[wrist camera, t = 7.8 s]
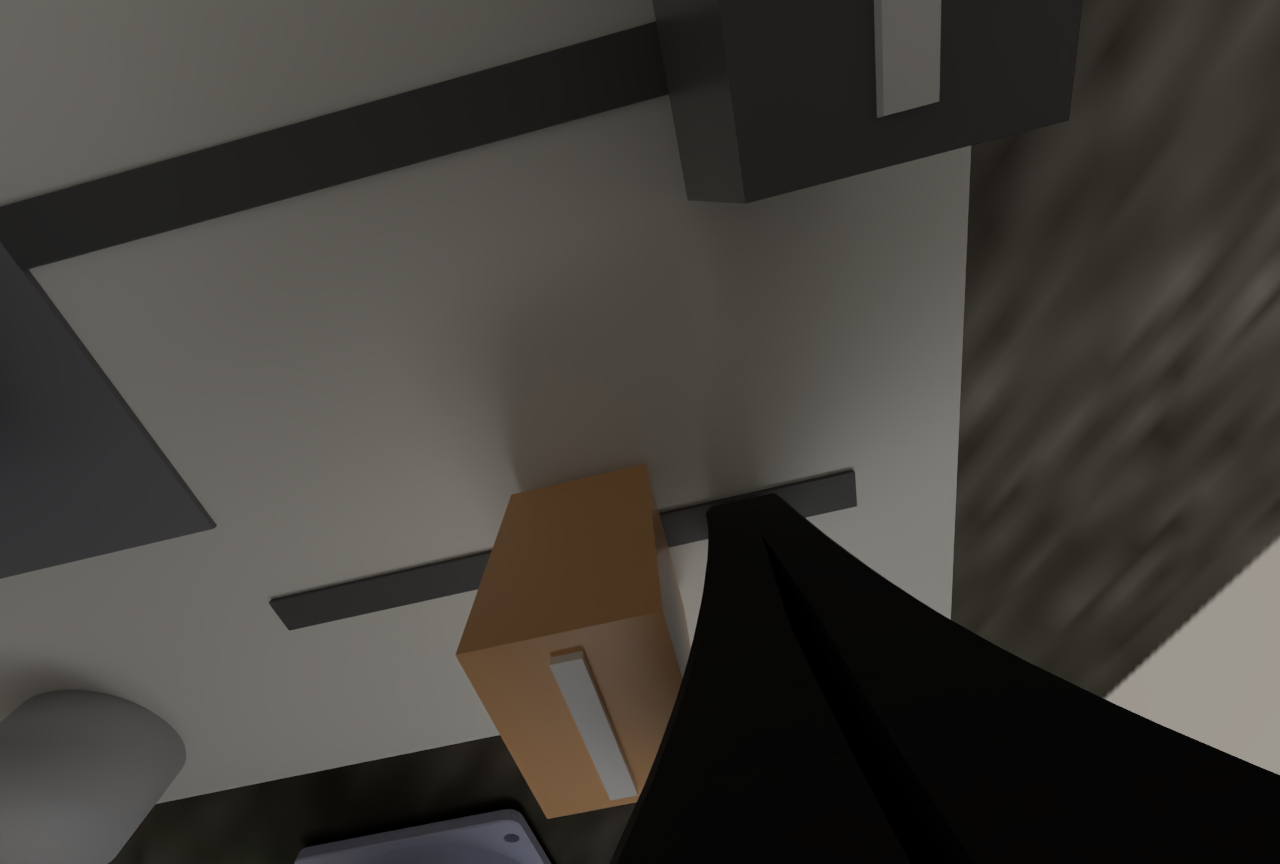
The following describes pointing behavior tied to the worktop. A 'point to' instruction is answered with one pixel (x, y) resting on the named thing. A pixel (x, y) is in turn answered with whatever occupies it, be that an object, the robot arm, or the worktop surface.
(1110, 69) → the worktop surface
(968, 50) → the black fader knob
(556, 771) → the orange fader knob
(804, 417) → the panel
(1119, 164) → the worktop surface
